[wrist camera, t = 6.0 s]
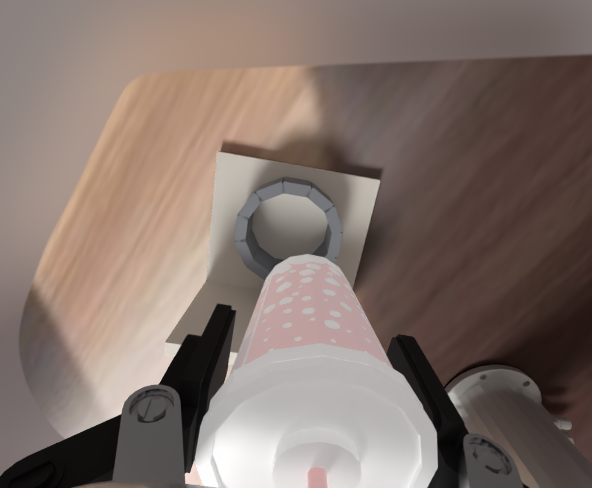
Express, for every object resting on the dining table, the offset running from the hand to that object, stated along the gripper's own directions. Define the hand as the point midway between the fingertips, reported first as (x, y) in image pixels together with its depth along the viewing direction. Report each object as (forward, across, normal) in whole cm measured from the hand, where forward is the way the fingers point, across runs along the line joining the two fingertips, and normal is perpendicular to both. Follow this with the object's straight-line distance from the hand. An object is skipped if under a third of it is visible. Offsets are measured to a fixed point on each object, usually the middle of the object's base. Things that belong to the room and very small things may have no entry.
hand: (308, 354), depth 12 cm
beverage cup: (+5, 0, 0) cm, 5 cm away
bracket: (+22, +1, +2) cm, 22 cm away
